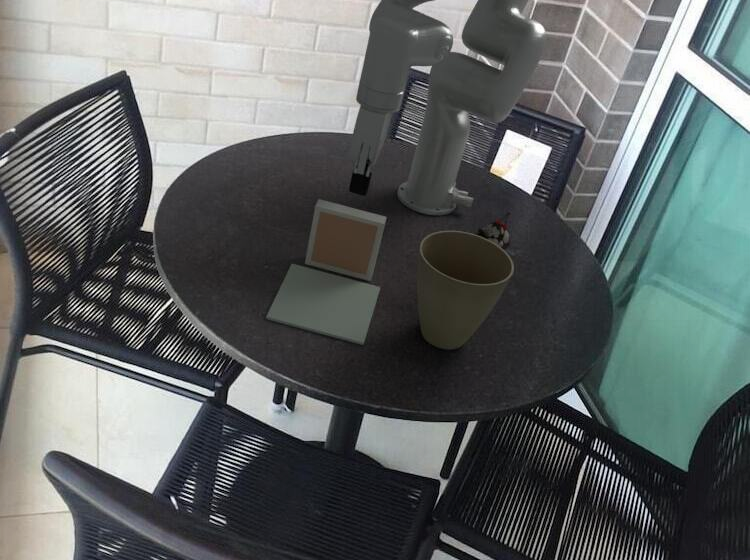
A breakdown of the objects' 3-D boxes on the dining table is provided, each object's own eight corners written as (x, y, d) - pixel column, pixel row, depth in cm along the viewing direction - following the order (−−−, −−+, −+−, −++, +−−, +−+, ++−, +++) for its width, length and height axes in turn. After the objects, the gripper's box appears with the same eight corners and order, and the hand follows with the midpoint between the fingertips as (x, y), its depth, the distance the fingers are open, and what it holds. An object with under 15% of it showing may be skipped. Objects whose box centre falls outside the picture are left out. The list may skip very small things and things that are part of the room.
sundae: (498, 280, 151) (523, 212, 143) (491, 299, 146) (515, 229, 137) (465, 268, 152) (487, 200, 144) (456, 286, 147) (479, 216, 139)
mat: (379, 289, 141) (380, 287, 141) (363, 345, 128) (363, 342, 128) (291, 265, 142) (291, 263, 142) (265, 318, 129) (266, 316, 128)
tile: (372, 273, 145) (386, 217, 138) (370, 281, 143) (384, 224, 136) (308, 256, 145) (318, 199, 139) (304, 264, 143) (315, 206, 136)
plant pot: (480, 313, 142) (506, 238, 133) (491, 371, 129) (521, 291, 120) (396, 301, 140) (417, 223, 131) (399, 358, 128) (423, 276, 119)
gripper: (365, 75, 140) (345, 169, 150) (349, 105, 127) (328, 205, 138) (407, 86, 140) (384, 180, 150) (395, 117, 127) (371, 217, 137)
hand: (357, 191), depth 144 cm, fingers closed
